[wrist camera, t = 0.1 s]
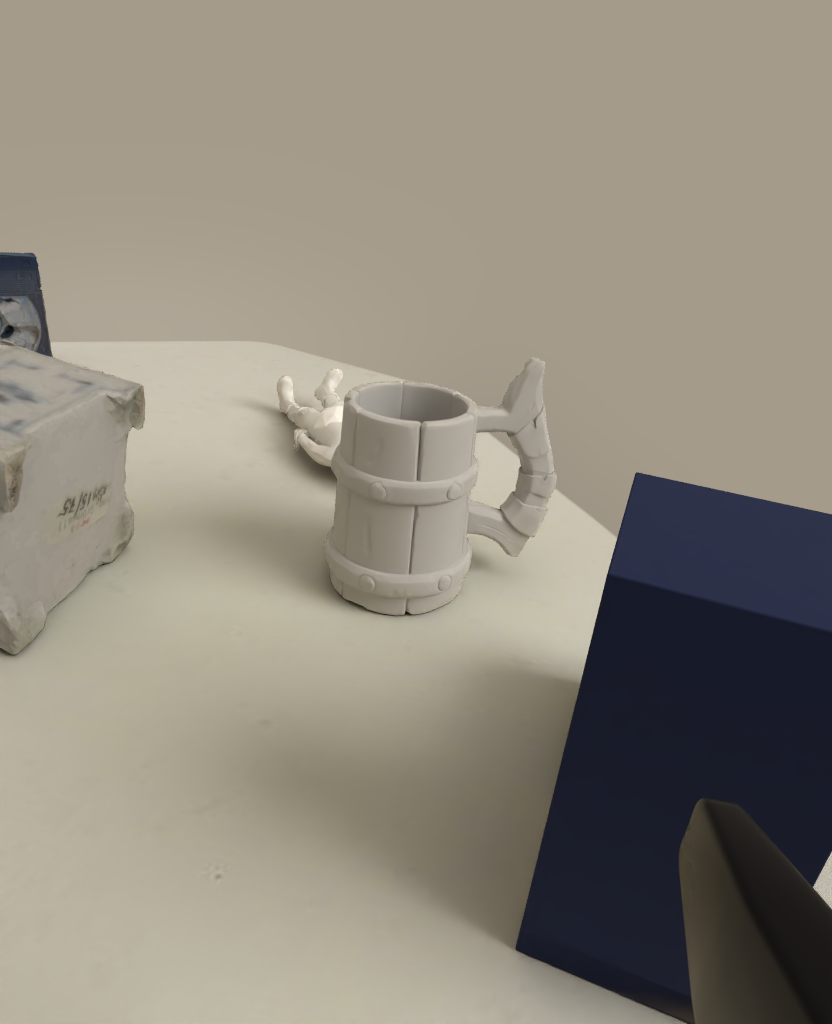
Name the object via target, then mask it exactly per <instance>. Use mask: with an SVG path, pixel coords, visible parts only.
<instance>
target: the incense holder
mask: <svg viewBox="0 0 832 1024" xmlns="http://www.w3.org/2000/svg"><path fill="white" fill-rule="evenodd" d="M144 420H145V399H144V387H143V386H142V385H140V384H138V383H134V382H131V381H128V380H124V379H120V378H118V377H115V376H113V375H108V374H105V373H103V372H100V371H96V370H91V369H88V368H86V367H81V366H78V365H75V364H71V363H67V362H64V361H62V360H59V359H56V358H53V357H50V356H46V355H42V354H39V353H37V352H34V351H31V350H28V349H26V348H23V347H18V346H12V347H8V348H4V349H0V648H2V649H4V650H5V651H7V652H9V653H10V654H12V655H13V654H17V653H19V652H20V651H21V650H22V649H24V648H25V647H26V646H27V645H28V644H29V643H30V642H31V641H32V640H33V639H34V638H35V637H36V636H37V635H38V634H39V633H40V631H41V630H42V629H43V628H44V625H45V620H46V616H47V613H48V612H49V611H50V610H51V609H52V608H54V607H55V606H56V605H57V604H58V603H59V602H60V601H62V600H64V599H65V598H66V596H67V595H68V594H69V593H71V592H72V591H73V590H74V589H75V588H76V587H77V586H78V585H79V583H80V582H81V581H82V580H83V579H84V578H85V575H86V574H87V573H88V572H89V571H90V570H94V569H96V568H97V566H99V565H101V564H106V563H110V562H111V561H113V560H114V559H115V558H116V557H117V556H118V555H119V553H120V552H121V551H122V550H123V549H124V548H125V547H126V546H127V544H128V543H129V541H130V540H131V538H132V536H133V534H134V513H133V511H132V509H131V508H130V505H129V503H128V500H127V497H126V493H125V478H126V474H125V463H126V446H127V438H128V433H129V431H130V430H131V428H132V427H134V428H136V429H138V430H139V429H141V428H143V423H144Z"/></svg>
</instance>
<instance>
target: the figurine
mask: <svg viewBox="0 0 832 1024" xmlns="http://www.w3.org/2000/svg"><path fill="white" fill-rule="evenodd" d="M341 379H342V372H341V370H340V369H337V368H335V369H331V370H330V371H329V372H328V373H327V374H326V376H325V378H324V380H323V382H322V384H321V386H319V387H318V388H317V389H316V390H315V397H316V398H317V399H318V400H321V402H322V406H323V407H324V408H325V409H324V410H323V411H322V412H318V411H316V410H314V409H312V408H307V407H300V406H299V405H298V404H297V403H295V402H294V397H293V383H292V380H291V378H290V377H288V376H282V377H281V378H280V379H279V380H278V382H277V391H278V396H279V401H280V403H279V405H280V410H281V412H282V413H285V414H287V416H288V418H289V419H290V421H293V422H294V424H295V425H296V426H297V425H298V426H299V427H300V429H296V430H294V440H295V442H296V444H294V445H293V447H294V446H295V447H294V448H295V449H296V450H297V451H298V450H300V449H299V448H300V445H301V446H302V447H303V448H304V449H305V451H306V452H307V454H308V455H310V456H311V458H312V459H313V460H315V461H316V462H317V463H319V464H320V465H323V466H329V467H331V460H332V457H333V455H334V452H335V449H336V447H337V446H338V445H339V444H340V441H341V429H342V417H343V406H344V402H343V401H340V400H339V397H338V395H337V394H336V393H335V392H334V390H335V389H336V387H337V386H338V385H339V383H340V381H341ZM298 426H297V427H298ZM308 435H309V436H310V438H311V440H310V439H309V438H308Z"/></svg>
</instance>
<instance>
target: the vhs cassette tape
mask: <svg viewBox="0 0 832 1024" xmlns="http://www.w3.org/2000/svg"><path fill="white" fill-rule="evenodd" d="M40 287H41V284H40V275H39V270H38V263H37V261H36V257H35V255H34V254H33V253H0V337H1V338H2V339H3V340H6V341H9V342H12V343H14V344H16V345H17V346H19V347H23V348H26V349H28V350H31V351H34V352H37V353H39V354H42V355H46V356H50V357H53V356H52V352H51V346H50V339H49V334H48V327H47V321H46V311H45V306H44V299H43V294H42V290H41V289H40Z"/></svg>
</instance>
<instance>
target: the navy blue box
mask: <svg viewBox="0 0 832 1024" xmlns="http://www.w3.org/2000/svg"><path fill="white" fill-rule="evenodd" d="M702 798H712V799H718V800H724V801H730V802H734V803H737V804H738V805H740V806H741V807H742V808H743V809H744V810H745V811H746V812H747V813H748V814H749V815H750V817H751V818H752V819H753V820H754V821H755V822H756V823H757V825H758V826H759V827H760V828H761V829H762V830H763V831H764V833H765V834H766V835H767V836H768V837H769V838H770V839H771V841H772V842H773V843H774V844H775V845H776V846H777V847H778V848H779V850H780V851H781V852H782V853H783V854H784V855H785V856H786V858H787V859H788V860H789V861H790V862H791V863H792V864H793V866H794V867H795V868H796V869H797V870H798V871H799V872H800V874H801V875H802V876H803V877H804V878H805V879H806V880H807V882H808V883H809V884H810V885H811V886H812V887H813V886H814V884H815V882H816V880H817V878H818V876H819V874H820V873H821V871H822V869H823V867H824V865H825V863H826V861H827V859H828V857H829V856H830V854H831V852H832V515H831V514H827V513H822V512H818V511H813V510H808V509H804V508H799V507H795V506H790V505H785V504H781V503H776V502H771V501H767V500H762V499H757V498H753V497H748V496H744V495H739V494H734V493H729V492H725V491H720V490H716V489H711V488H707V487H702V486H697V485H693V484H688V483H684V482H679V481H674V480H670V479H665V478H660V477H656V476H651V475H646V474H642V473H636V474H635V477H634V481H633V484H632V488H631V492H630V495H629V499H628V502H627V506H626V510H625V513H624V517H623V520H622V524H621V528H620V531H619V534H618V538H617V541H616V545H615V549H614V552H613V556H612V559H611V563H610V567H609V570H608V574H607V578H606V582H605V586H604V590H603V594H602V598H601V602H600V606H599V610H598V614H597V618H596V622H595V627H594V631H593V635H592V639H591V643H590V647H589V651H588V655H587V659H586V663H585V667H584V671H583V675H582V680H581V684H580V688H579V692H578V696H577V700H576V704H575V708H574V712H573V716H572V720H571V724H570V728H569V732H568V737H567V741H566V745H565V749H564V753H563V757H562V761H561V765H560V769H559V773H558V777H557V781H556V785H555V789H554V794H553V798H552V802H551V806H550V810H549V814H548V818H547V822H546V826H545V830H544V834H543V838H542V842H541V846H540V851H539V855H538V859H537V863H536V867H535V871H534V875H533V879H532V883H531V887H530V891H529V895H528V899H527V903H526V908H525V912H524V916H523V920H522V924H521V928H520V932H519V936H518V940H517V944H516V950H518V951H520V952H522V953H525V954H527V955H529V956H532V957H534V958H537V959H539V960H541V961H544V962H546V963H548V964H551V965H553V966H555V967H558V968H560V969H563V970H565V971H567V972H570V973H572V974H574V975H577V976H579V977H581V978H584V979H586V980H589V981H591V982H593V983H596V984H598V985H600V986H603V987H605V988H607V989H610V990H612V991H615V992H617V993H619V994H622V995H624V996H626V997H629V998H631V999H633V1000H636V1001H638V1002H641V1003H643V1004H645V1005H648V1006H650V1007H652V1008H655V1009H657V1010H659V1011H662V1012H664V1013H666V1014H669V1015H671V1016H674V1017H676V1018H678V1019H681V1020H683V1021H685V1022H688V1023H690V1024H695V1018H694V1013H693V1005H692V997H691V988H690V978H689V968H688V958H687V947H686V937H685V927H684V916H683V906H682V895H681V885H680V875H679V851H680V846H681V843H682V840H683V837H684V835H685V832H686V829H687V826H688V824H689V821H690V818H691V816H692V813H693V810H694V808H695V805H696V803H697V802H698V801H699V800H700V799H702Z"/></svg>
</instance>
